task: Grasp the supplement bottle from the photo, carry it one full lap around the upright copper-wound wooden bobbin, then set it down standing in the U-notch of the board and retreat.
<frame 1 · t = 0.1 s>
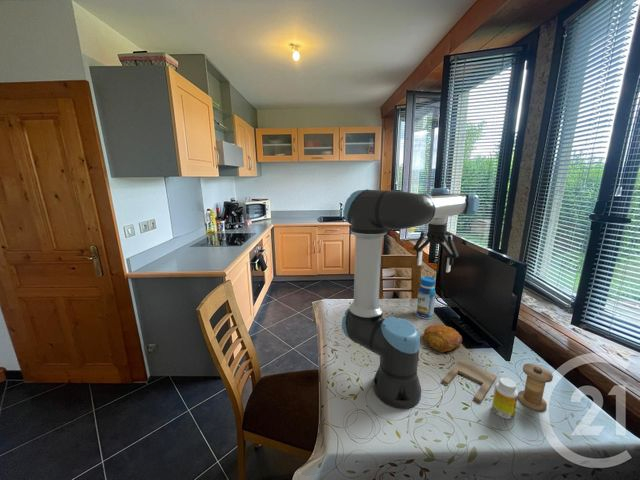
hand: (433, 268, 123), 28 cm above the table, fingers open, 13 cm apart
supplement bottle: (502, 412, 79), on the table
beverage bottle: (424, 315, 136), on the table
notched board: (469, 380, 91), on the table
bobbin: (531, 401, 82), on the table
golden brown rounded loaf: (441, 342, 114), on the table
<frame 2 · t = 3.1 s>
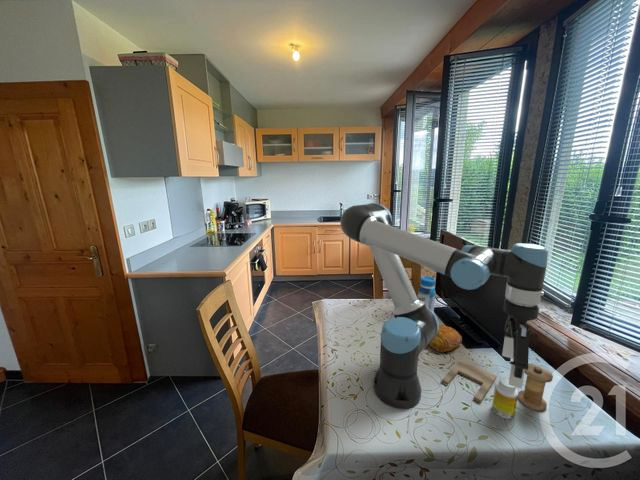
hand: (510, 370, 76), 14 cm above the table, fingers open, 13 cm apart
nothing on the table moved.
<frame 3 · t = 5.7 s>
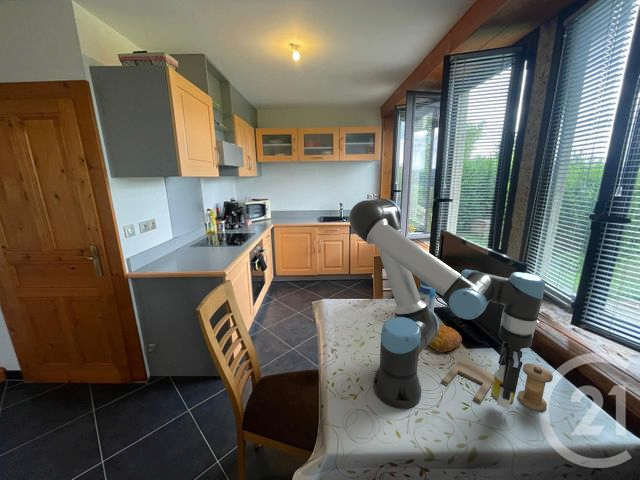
hand: (501, 398, 78), 4 cm above the table, fingers closed on supplement bottle, 6 cm apart
supplement bottle: (501, 399, 79), point 4 cm above the table, touching gripper
everything else where it was.
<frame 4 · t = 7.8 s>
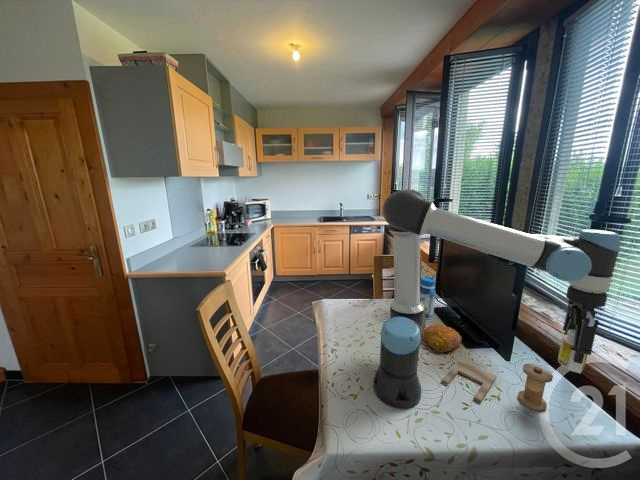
hand: (570, 364, 75), 16 cm above the table, fingers closed on supplement bottle, 6 cm apart
supplement bottle: (570, 365, 75), point 16 cm above the table, touching gripper
everything else where it was.
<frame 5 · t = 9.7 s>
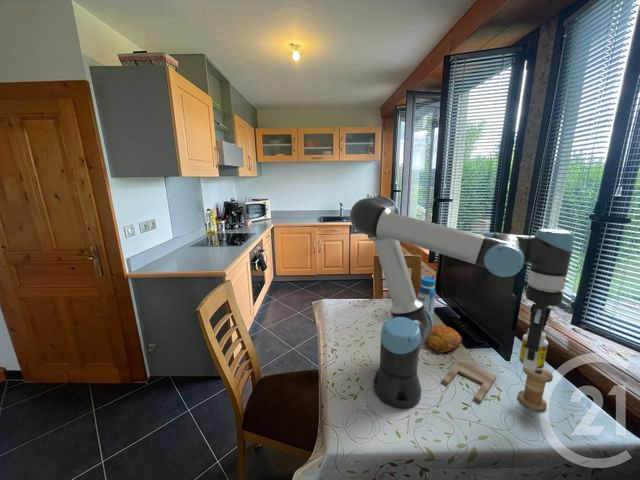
hand: (530, 363, 75), 16 cm above the table, fingers closed on supplement bottle, 6 cm apart
supplement bottle: (530, 364, 76), point 16 cm above the table, touching gripper
everything else where it was.
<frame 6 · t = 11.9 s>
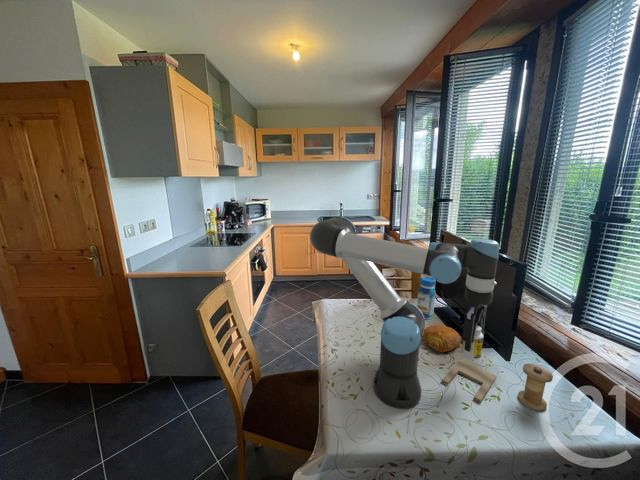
hand: (470, 354, 87), 11 cm above the table, fingers closed on supplement bottle, 6 cm apart
supplement bottle: (470, 355, 87), point 11 cm above the table, touching gripper
everything else where it was.
when the fingers open (2 cm above the table, at t = 13.8 s): supplement bottle drops 2 cm, resting in notched board.
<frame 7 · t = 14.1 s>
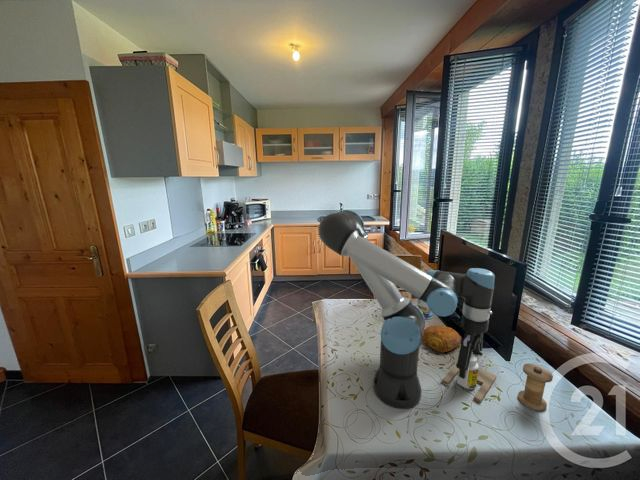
hand: (467, 377, 89), 2 cm above the table, fingers open, 9 cm apart
supplement bottle: (466, 384, 90), resting in notched board
everything else where it was.
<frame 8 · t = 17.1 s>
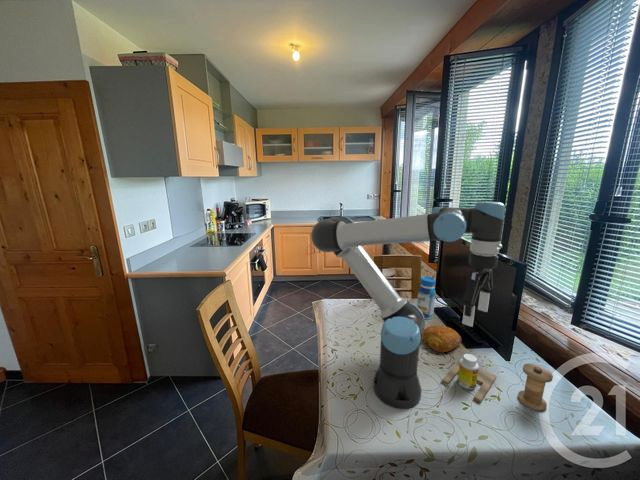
hand: (475, 317, 85), 25 cm above the table, fingers open, 13 cm apart
nothing on the table moved.
at the end: supplement bottle 0.0 cm from the target spot on the notched board, point 0.0 cm above the notched board's base; supplement bottle tilted 0°; the gripper is holding nothing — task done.
